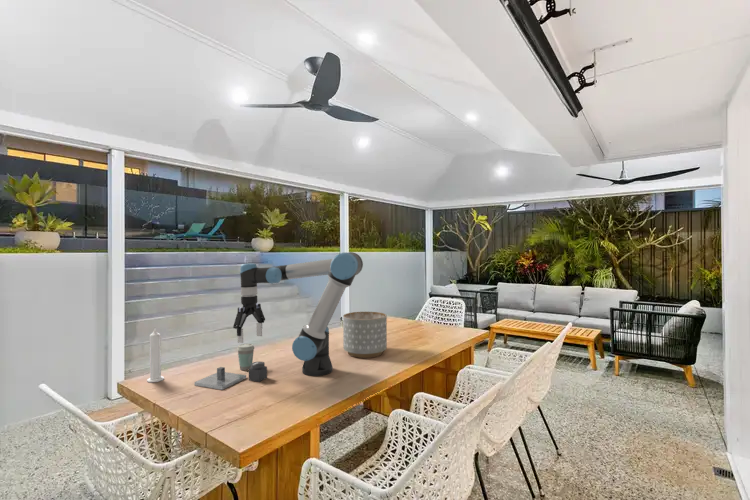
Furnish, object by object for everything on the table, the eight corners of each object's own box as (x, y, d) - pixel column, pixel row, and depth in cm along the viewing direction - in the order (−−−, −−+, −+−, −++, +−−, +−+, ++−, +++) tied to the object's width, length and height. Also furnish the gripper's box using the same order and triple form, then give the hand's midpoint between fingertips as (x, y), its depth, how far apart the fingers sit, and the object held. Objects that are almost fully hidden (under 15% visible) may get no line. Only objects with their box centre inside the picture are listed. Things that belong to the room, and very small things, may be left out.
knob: (256, 376, 191) (256, 359, 191) (267, 377, 188) (267, 361, 188) (248, 380, 185) (248, 363, 185) (259, 382, 183) (259, 365, 183)
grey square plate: (246, 378, 188) (246, 364, 188) (222, 389, 173) (222, 375, 173) (219, 374, 194) (219, 361, 193) (194, 385, 179) (194, 371, 179)
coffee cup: (249, 371, 198) (249, 348, 197) (233, 370, 199) (233, 347, 199) (257, 366, 206) (257, 343, 206) (242, 365, 208) (242, 342, 207)
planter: (394, 350, 235) (394, 313, 234) (371, 361, 213) (371, 321, 213) (359, 345, 248) (359, 310, 248) (334, 354, 227) (334, 316, 226)
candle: (167, 378, 188) (166, 326, 188) (154, 383, 181) (154, 329, 181) (156, 376, 190) (155, 325, 190) (143, 381, 184) (142, 328, 183)
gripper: (259, 292, 202) (260, 333, 203) (224, 298, 179) (225, 344, 180) (271, 292, 200) (272, 334, 200) (237, 299, 176) (238, 346, 177)
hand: (250, 339), depth 190 cm, fingers open, 13 cm apart
